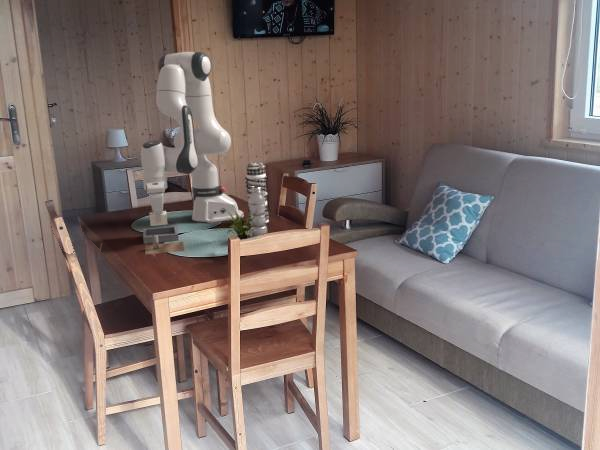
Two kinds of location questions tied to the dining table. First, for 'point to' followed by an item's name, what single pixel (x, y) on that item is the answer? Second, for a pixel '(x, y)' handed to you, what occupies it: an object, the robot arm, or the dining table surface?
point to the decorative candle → (257, 182)
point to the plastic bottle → (257, 211)
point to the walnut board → (163, 247)
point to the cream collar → (163, 219)
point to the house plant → (238, 226)
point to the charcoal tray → (160, 234)
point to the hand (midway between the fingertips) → (158, 219)
